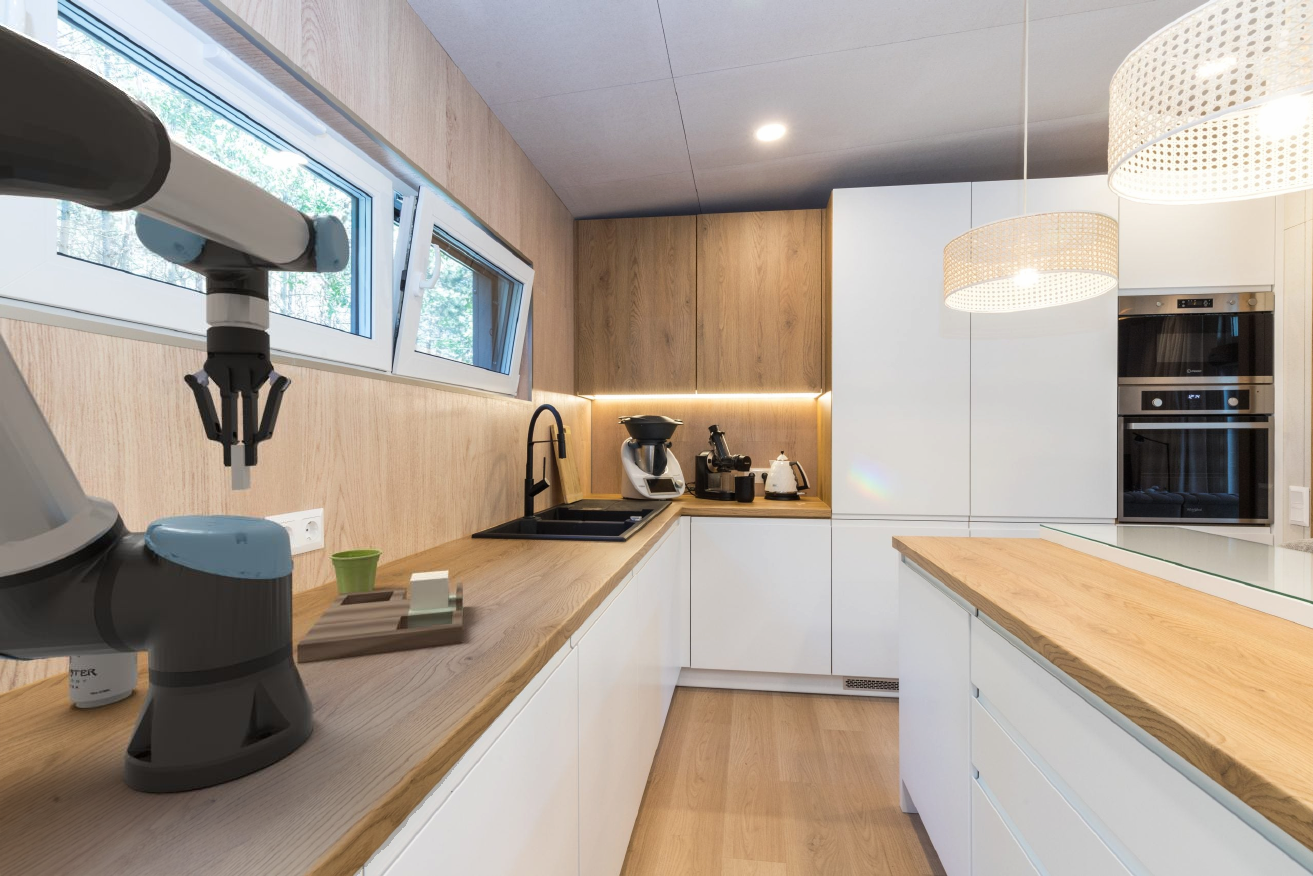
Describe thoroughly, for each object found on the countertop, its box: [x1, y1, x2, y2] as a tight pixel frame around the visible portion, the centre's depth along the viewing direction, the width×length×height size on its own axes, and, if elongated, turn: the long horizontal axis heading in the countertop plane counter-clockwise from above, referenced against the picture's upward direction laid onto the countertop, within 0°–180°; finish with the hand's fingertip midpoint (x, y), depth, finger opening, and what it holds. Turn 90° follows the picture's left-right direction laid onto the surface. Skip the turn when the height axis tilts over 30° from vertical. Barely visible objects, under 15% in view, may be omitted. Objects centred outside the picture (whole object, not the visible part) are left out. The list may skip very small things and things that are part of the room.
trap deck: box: [296, 582, 464, 664], centre depth 97 cm, size 29×22×4 cm
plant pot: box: [329, 548, 383, 596], centre depth 115 cm, size 9×9×9 cm
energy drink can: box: [68, 652, 139, 709], centre depth 70 cm, size 6×6×15 cm
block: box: [409, 569, 450, 611], centre depth 100 cm, size 6×6×5 cm
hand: (241, 488), depth 84 cm, fingers closed
